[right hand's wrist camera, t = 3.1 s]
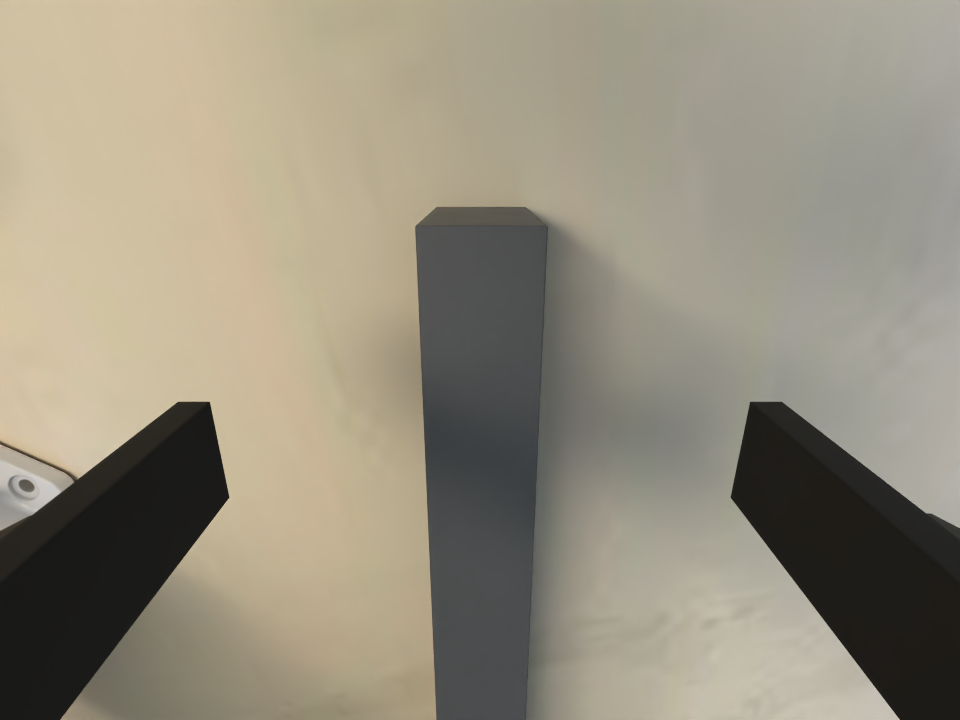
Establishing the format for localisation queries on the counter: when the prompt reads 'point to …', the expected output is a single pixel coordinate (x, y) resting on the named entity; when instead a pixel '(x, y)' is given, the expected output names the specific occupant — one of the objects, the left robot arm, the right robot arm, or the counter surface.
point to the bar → (481, 447)
